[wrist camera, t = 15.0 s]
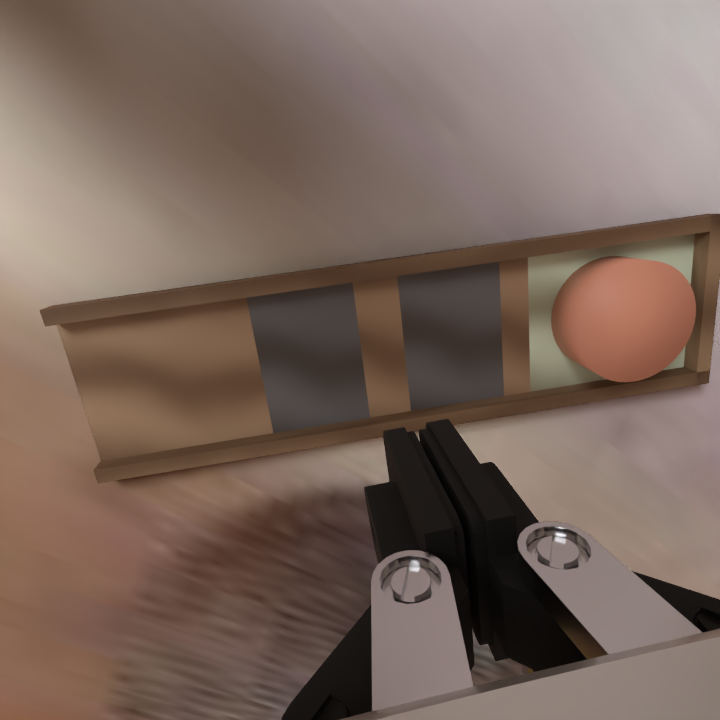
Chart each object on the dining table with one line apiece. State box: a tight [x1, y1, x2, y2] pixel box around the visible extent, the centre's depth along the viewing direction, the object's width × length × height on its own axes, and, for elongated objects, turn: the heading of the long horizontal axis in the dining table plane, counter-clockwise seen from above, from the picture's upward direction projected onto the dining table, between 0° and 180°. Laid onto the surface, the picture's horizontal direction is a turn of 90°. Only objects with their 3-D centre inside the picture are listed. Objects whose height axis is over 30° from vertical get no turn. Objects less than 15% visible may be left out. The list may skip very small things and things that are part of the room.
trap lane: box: [40, 214, 720, 483], centre depth 33 cm, size 12×44×2 cm, turn 97°
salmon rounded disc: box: [551, 256, 696, 382], centre depth 32 cm, size 8×8×4 cm
